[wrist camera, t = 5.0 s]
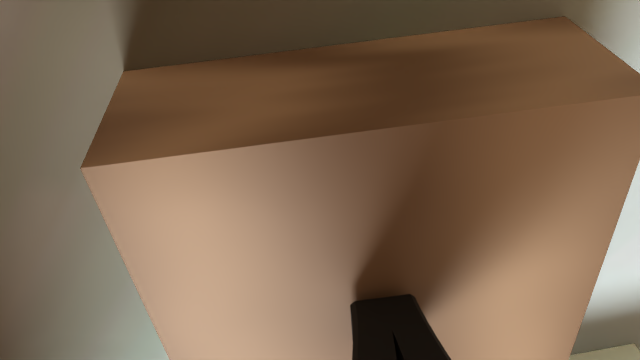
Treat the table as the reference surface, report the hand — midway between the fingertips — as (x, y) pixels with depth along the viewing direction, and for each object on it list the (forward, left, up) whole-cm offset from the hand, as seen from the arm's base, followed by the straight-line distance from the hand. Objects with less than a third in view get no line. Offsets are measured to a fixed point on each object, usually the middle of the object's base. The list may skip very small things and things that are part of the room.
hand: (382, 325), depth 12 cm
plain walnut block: (0, 0, -4) cm, 4 cm away
